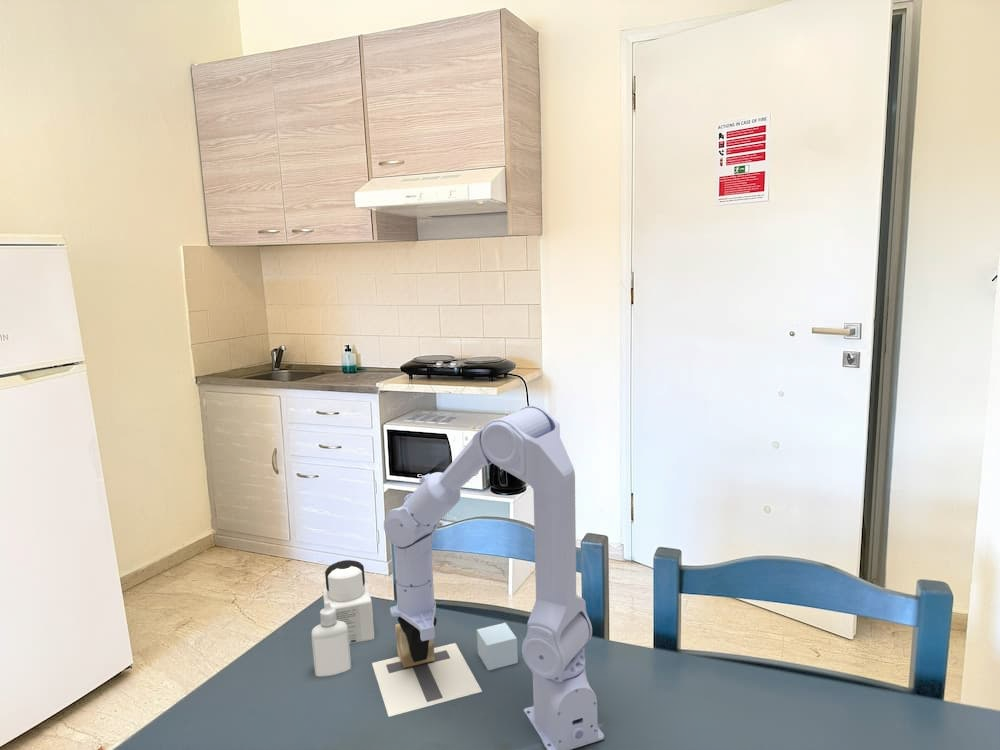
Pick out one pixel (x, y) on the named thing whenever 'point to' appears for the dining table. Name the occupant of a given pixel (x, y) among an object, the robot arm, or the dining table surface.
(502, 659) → the pale blue cube
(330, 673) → the eye dropper bottle
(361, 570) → the container
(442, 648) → the letter card
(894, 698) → the dining table surface
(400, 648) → the oak block
